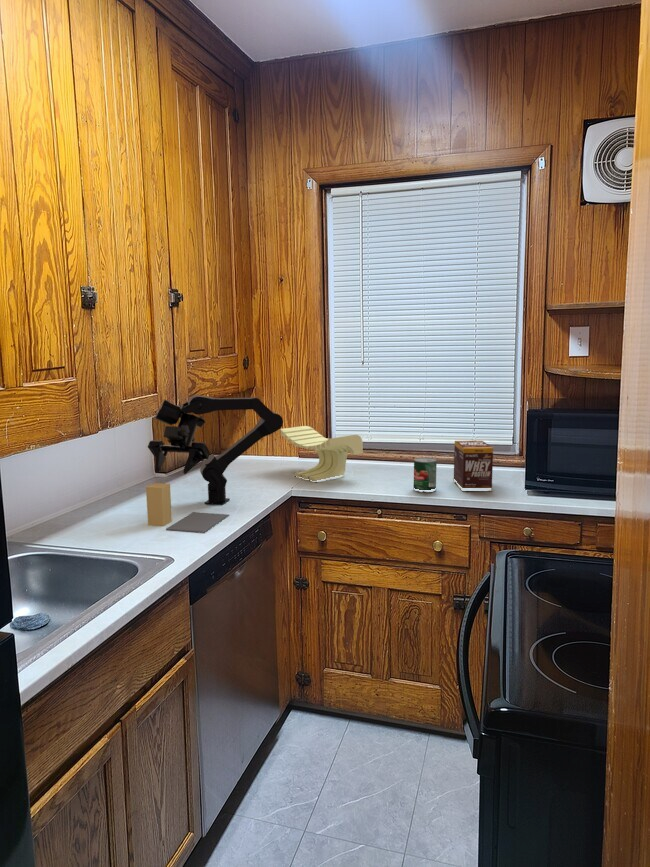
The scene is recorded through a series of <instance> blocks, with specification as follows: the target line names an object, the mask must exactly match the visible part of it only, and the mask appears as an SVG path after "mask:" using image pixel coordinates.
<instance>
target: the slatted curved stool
mask: <svg viewBox="0 0 650 867" xmlns="http://www.w3.org/2000/svg"><path fill="white" fill-rule="evenodd" d="M280 437H283V438H284V440H286V441H288V443H290V444H293V446H294V447H296V448H302V449H306V450H309V451H314V452H315V451H316V453H317V456H318V458H319V459H318V460H319V461H318V463H317V465H315V466H314V467H312V468H310V469H306V470H302V471H298V472H295V474H294V476H297V477H302V478H304V479H309V480H312V481H317V480H321V479H326V478H330V477H335V476H340V475H344V476H345V473H346V465H347V458H348V454H349V453H350V454H352V455H353V456H356V455H362V454H363V453H364V451H363V444H364V442H363V439H362V437H361V436H360V435H358V434H351V435H344V436H339V437H333V438H332V437H331V438H326V437H324V435H322V434H320V433H319V432H318V431H317V430H315V428H313V427H311V426H309V425H302V426H293V427H286V428H280ZM302 478H301V479H302Z"/></svg>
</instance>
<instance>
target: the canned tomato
mask: <svg viewBox="0 0 650 867" xmlns="http://www.w3.org/2000/svg"><path fill="white" fill-rule="evenodd" d="M437 461H438V460H437V458H434V457H426V456H425V457H423V456H421V457H416V458H414V459H413V489H414V488H415V489H419V490H431V489H435V488H436V489H437Z"/></svg>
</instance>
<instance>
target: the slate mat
mask: <svg viewBox="0 0 650 867" xmlns="http://www.w3.org/2000/svg"><path fill="white" fill-rule="evenodd" d="M227 516H228V517H230V514H226V513H215V512H214V513H212V512H211V513H210V512H199V511H198V512H196V511H193V512H191V513H189V514H188V515H186V516H185V517H183V518H181V519H180V520H178V521H176V522H175V523H172V524H171V525H169V526H168V527H166V528H165V530H166V531H173V532H175V531H176V532H177V531H178V532H184V533H185V532H190V533H197V534H200V533H203V534H206V533H207V532H209V531H210V530H211V529H212V527H213V528H214V527H215V525H216V524H217V525H219V524H220V523H221V522H222V520H223V519H224V520H225V519H227V518H228V517H227ZM226 517H227V518H226ZM224 520H223V521H224ZM219 522H220V523H219ZM217 525H216V526H217ZM208 530H209V531H208ZM199 532H200V533H199ZM205 532H206V533H205Z"/></svg>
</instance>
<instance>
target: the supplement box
mask: <svg viewBox="0 0 650 867" xmlns="http://www.w3.org/2000/svg"><path fill="white" fill-rule="evenodd" d="M453 450H454V454H453V455H454V456H453V480H454V479H455V480H456V481H457V483H458V484H459V485H460V486H461V487H462V488H492V489H493V487H492V486H493V465H494V464H493V463H494V460H493V459H494V447H492V446H491V445H489V443H486V442H485V441H484V440H455V441H454V449H453Z"/></svg>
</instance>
